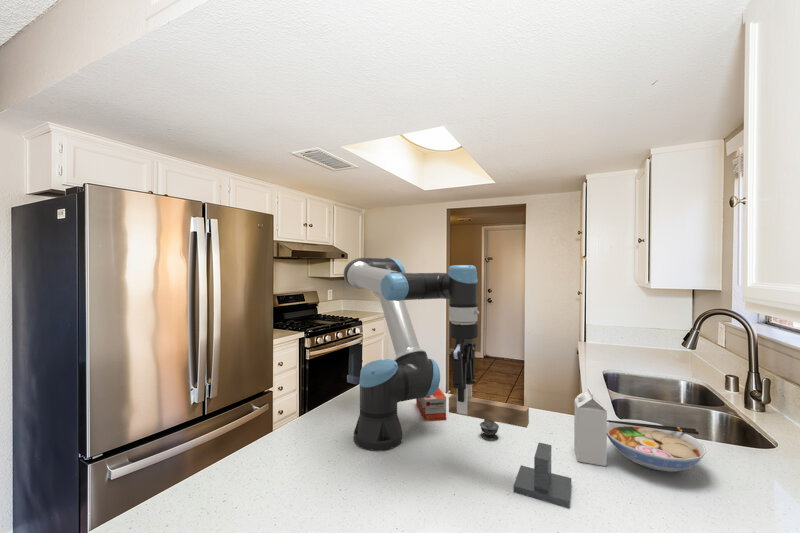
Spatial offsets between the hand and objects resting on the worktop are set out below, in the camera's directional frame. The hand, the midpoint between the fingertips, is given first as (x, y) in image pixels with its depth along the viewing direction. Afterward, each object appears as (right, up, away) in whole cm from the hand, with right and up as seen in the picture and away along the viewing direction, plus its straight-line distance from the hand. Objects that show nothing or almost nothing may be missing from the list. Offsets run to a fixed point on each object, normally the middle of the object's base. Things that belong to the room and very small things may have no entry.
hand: (464, 410), depth 95 cm
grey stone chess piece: (+11, -15, +17) cm, 26 cm away
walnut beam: (+5, -1, -3) cm, 6 cm away
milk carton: (+36, -16, +5) cm, 40 cm away
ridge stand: (+17, -15, -9) cm, 25 cm away
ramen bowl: (+52, -16, +3) cm, 54 cm away
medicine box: (-6, -16, +36) cm, 40 cm away
